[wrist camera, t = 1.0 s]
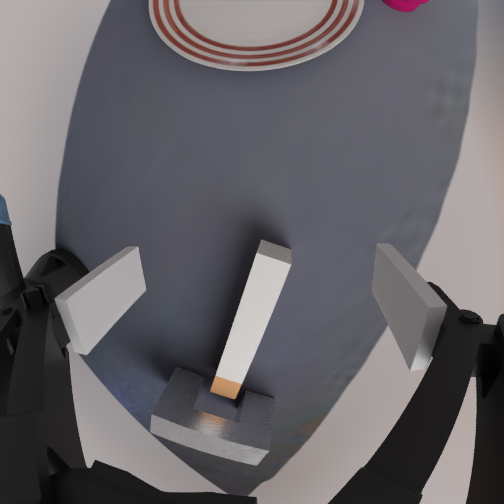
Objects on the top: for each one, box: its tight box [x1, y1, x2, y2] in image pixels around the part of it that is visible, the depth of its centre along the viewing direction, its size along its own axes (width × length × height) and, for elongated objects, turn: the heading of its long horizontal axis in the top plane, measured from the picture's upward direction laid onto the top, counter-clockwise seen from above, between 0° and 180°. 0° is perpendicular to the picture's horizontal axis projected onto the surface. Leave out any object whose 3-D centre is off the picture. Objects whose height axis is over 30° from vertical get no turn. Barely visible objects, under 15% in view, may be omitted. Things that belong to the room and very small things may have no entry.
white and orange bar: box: [210, 240, 291, 399], centre depth 38 cm, size 24×4×5 cm, turn 163°
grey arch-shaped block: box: [150, 367, 275, 466], centre depth 41 cm, size 6×18×12 cm, turn 73°
